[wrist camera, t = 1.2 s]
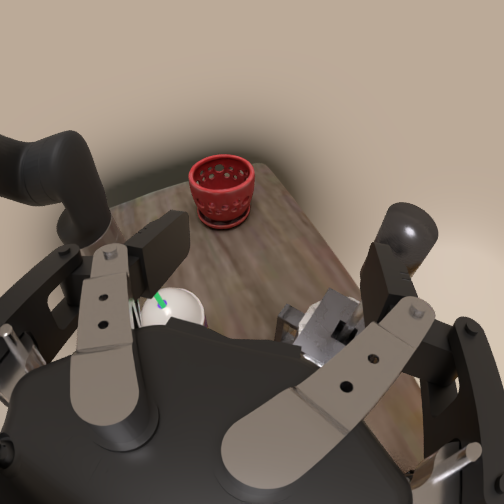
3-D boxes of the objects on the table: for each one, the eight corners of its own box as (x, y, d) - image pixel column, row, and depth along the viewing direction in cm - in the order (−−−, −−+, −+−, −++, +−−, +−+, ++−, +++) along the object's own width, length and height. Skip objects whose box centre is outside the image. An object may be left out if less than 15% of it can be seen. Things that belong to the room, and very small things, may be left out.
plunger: (292, 357, 32) (334, 234, 14) (322, 311, 35) (374, 168, 18) (344, 387, 29) (456, 301, 11) (370, 338, 33) (465, 216, 15)
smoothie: (214, 379, 40) (181, 336, 24) (165, 369, 41) (108, 320, 25) (223, 332, 45) (202, 263, 29) (177, 324, 46) (134, 255, 30)
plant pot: (212, 244, 56) (203, 201, 47) (188, 208, 63) (178, 166, 54) (266, 219, 60) (267, 175, 51) (237, 187, 67) (234, 146, 58)
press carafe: (249, 379, 40) (244, 351, 27) (300, 309, 47) (315, 254, 34) (332, 429, 34) (370, 424, 21) (375, 351, 41) (419, 311, 29)
